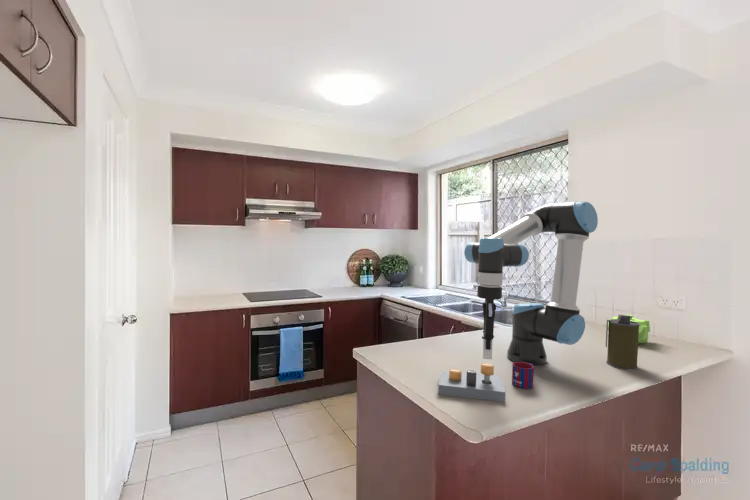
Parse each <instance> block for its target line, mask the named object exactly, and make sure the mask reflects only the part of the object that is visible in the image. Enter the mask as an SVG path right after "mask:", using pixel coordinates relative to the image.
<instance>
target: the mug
mask: <svg viewBox="0 0 750 500" xmlns="http://www.w3.org/2000/svg"><path fill="white" fill-rule="evenodd" d="M511 367H512V368H511V369H512V372H511V384H512V385H513V386H514V387H515V388H518V389H521V390H531V389H532V388H533V387H534V374H535V373H534V372H535V365H533V364H529V363H524V362H515V361H513V363H512V366H511Z"/></svg>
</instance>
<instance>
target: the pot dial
mask: <svg viewBox="0 0 750 500" xmlns="http://www.w3.org/2000/svg"><path fill="white" fill-rule="evenodd" d="M466 373H467V379H466V385H468V386H471V387H474V386H476V374H477V372H476V371H474V370H466Z"/></svg>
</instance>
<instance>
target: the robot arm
mask: <svg viewBox="0 0 750 500" xmlns="http://www.w3.org/2000/svg"><path fill="white" fill-rule="evenodd" d="M598 224H599V219H598V213H597V210H596V209H595V207H594V205H593V204H592V203H591V202H588V201H578V200H577V201H576V200H575V201H569V202H557V203H555V202H554V203H553V202H552V203H548V204H544V205H542V206H539V207H536V208H534V209H533V210H531V211H529V212H527V213H525V214H524V215H522V217H521V219H520V220H518V221H516V222H514V223H512V224H510V225H509V226H507V227H505V228H504V229H501V230H500V231H498V232H496V233H495V234H493V235H492V234H491V236H489V237H481V238H480V239H479V242H475V241H474V242H469V243H468V244H467V245H465V248H464V258H465V260H466V261H467V262H469V263H472V264H475V265H476V264H478V269H477V271H478V272H477V273H478V274H476V276H475V277H476V279H477V278H478V279H477V284H478V286H477V297H478V298H479V299H483V300H484V302H482V305H481V307H482V315H483V327H482V328H483V330H482V333H483V334H482V335H483V336H481V340H483V341H482V359H483V360H493V339H494V338H495V335H494V329H495V318H496V311H497V305H496V303H495V301H494V300H500V299H502V297H503V295H502V294H503V288H502V286H503V282H504V281H503V279H504V278H503V277H504V276H503V275H504V273H503V269H504V268H503V267H505V268H506V267H515V268H517V267H520V266H522V267H523V266H524V265H525V264H526V263H527V262H528V260H529V257H530V255H529V250H528V248H527V247H526V246H525V245H523V244H519V243H521V242H523V241H524V240H526V239H528V238H529V237H531V236H533V237H534V236H537V235H538V236H539V235H540V234H542V233H543V234H544V233H554V236H555V238H556V239H557V248H556V258H555V264H554V265H555V266H554V273H553V281H552V290H551V294H550V295H551V297H550V301H549V302H547V303H546V304H545V305H544V304H543V303H541V302H540V303H538V302H524V303H523V302H522V303H516V304H515V305H513V310H512V332H511V333H512V337H511V341H510V343H509V345H508V348H507V350H506V351H507V352H506V353H507V354H506V357H507V358H508V359H509V360H510V361H512V362H524V363H529V364H533V365H534V366H540V365H544V364H545V365H546V363H547V362H548V361H547V358H548V357H547V353H546V350H545V346H544V342H543V339H544V340H548V341H552V342H556V343H558V344H564V345H569V346H572V345H575V344H576V343H578V342H579V341H580V340H581V339H582V337H583V335H584V332H585V329H586V321H585V318H584V316H582V315H581V314H580V311H581V309H580V308H579V306H577V297H578V289H579V284H580V283H579V282H580V274H581V266H582V257H583V250H584V248H583V247H584V243H585V242H586V240H588V239H589V237H590V234H591V233H594V232H595V231H596V230H597V227H598Z"/></svg>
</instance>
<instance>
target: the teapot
mask: <svg viewBox="0 0 750 500" xmlns="http://www.w3.org/2000/svg"><path fill="white" fill-rule="evenodd" d="M628 315H629V316H631V317H632V318H630V321H633V322H637V323H639V324H640V326H639V336H638V344H639V343H641V344H646V343H647V342H648V341H649V333H650V332H651V327H650V325H651V324H650V320H647V319H639V318H636V317H633V316H634V315H632V314H628ZM617 318H618V316H613V317H612V319H617ZM610 319H611V318H610ZM610 319H609V318H608V320H610ZM608 332H609V322H608Z"/></svg>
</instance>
